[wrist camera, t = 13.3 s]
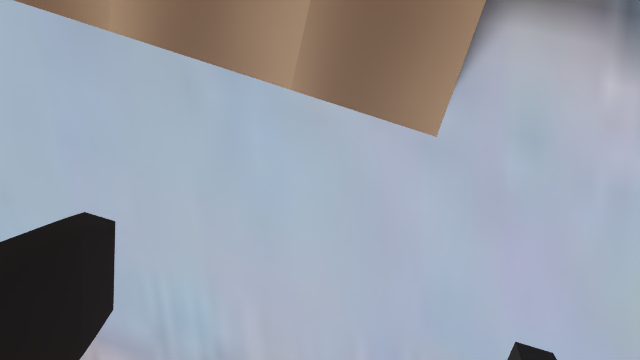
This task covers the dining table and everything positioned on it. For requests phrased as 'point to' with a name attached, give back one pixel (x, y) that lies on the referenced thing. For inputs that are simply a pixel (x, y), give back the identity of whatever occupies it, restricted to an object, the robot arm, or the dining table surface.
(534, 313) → the dining table surface
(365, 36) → the socket block
